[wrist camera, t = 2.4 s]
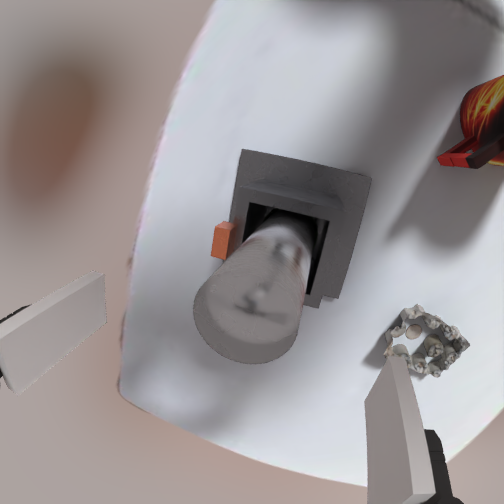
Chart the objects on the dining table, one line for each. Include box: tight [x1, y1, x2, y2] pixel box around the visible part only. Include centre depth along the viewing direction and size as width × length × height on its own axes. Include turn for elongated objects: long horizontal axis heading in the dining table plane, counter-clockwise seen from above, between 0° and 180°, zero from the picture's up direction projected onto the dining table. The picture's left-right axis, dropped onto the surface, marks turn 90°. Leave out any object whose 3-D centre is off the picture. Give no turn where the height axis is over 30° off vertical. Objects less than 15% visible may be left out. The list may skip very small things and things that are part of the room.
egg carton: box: [383, 304, 470, 377], centre depth 32 cm, size 11×8×4 cm
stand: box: [211, 149, 372, 308], centre depth 28 cm, size 14×14×12 cm
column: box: [193, 208, 318, 364], centre depth 23 cm, size 6×6×20 cm
